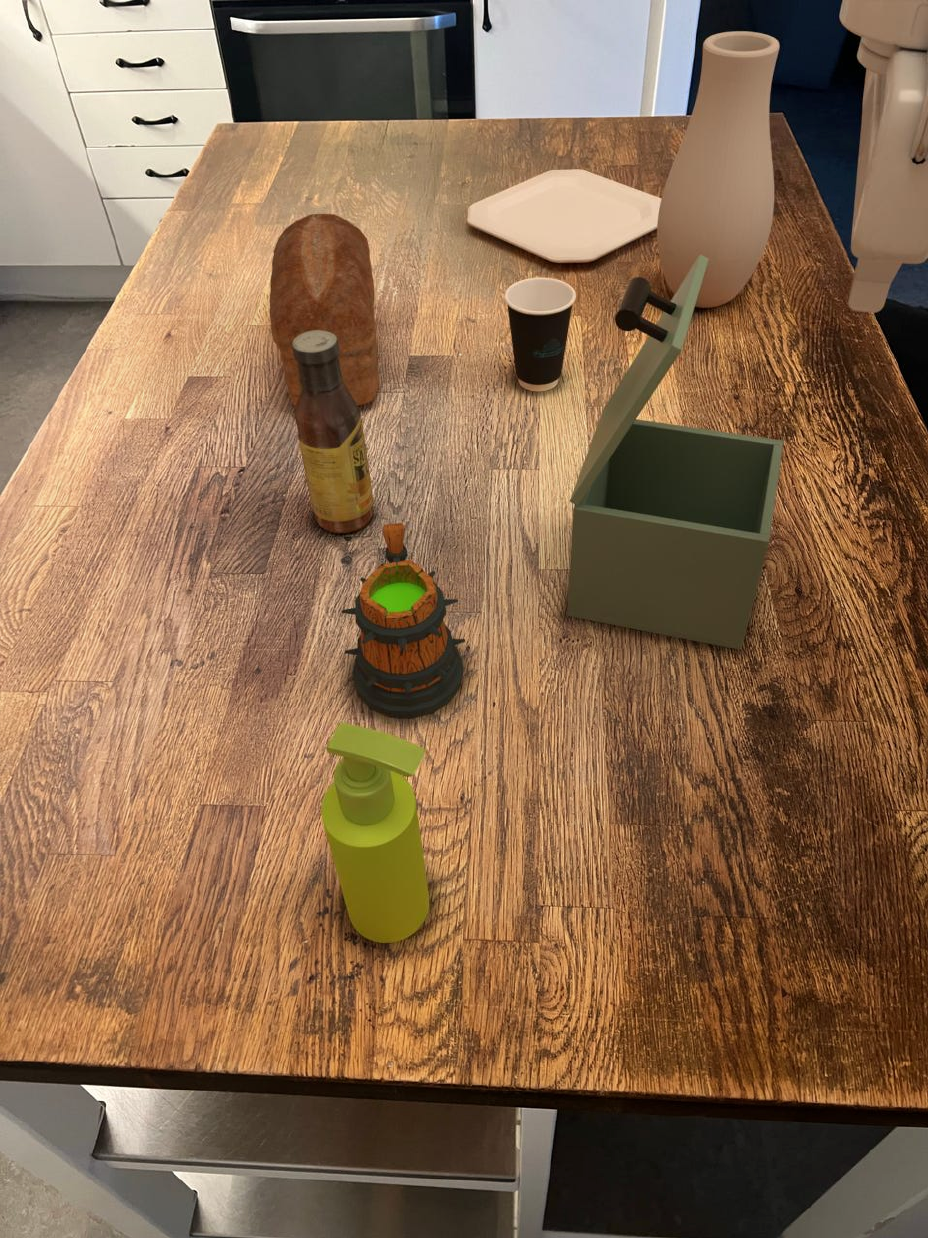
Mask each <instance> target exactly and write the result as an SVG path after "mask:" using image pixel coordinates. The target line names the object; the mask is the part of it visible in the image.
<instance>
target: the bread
mask: <svg viewBox="0 0 928 1238" xmlns="http://www.w3.org/2000/svg"><path fill="white" fill-rule="evenodd" d="M370 255H371V250H370V245H369V241H368V238H367V237H366V236H365V234H364V233H363V232H362V230H361V229H360V228H359V227H357V226H356V225H355V224H353V223H352V222H350V221H349V220H347V219H345V218H343V217H341V216H340V215H339V216H338V215H336V214H335V213H312V214H308V215H306V216H304V217H302V218H300V219H298V220H295V221H293V222H292V223H291V224H290V225H288V226H287V227H285V229H284V230H283V231H282V233H281V234H280V235H279V236H278V238H277V240H276V243H275V246H274V249H273V256H272V261H271V275H270V283H269V284H270V285H269V287H270V289H269V291H270V292H269V320H270V331H271V336H272V340H273V343H274V344H275V346H276V347H277V349H278V351H279V354H280V359H281V364H282V368H283V372H284V379H285V384H286V385H285V386H286V389H287V392H288V396H289V398H290V400H291V403H292V404H293V406H295V405H296V401H297V400H298V398H299V395H300V393H301V391H302V386H301V384H300V379H301V378H300V373H299V368H298V363H297V361H296V360H295V357H294V353H293V347H292V342H293V340H294V339H295V338H296V337H297V336H299V335H301V334H302V333H305V332H308V331H313V330H322V331H327V332H330V333H332V334H334V335H335V336H336V337H337V340H338V345H339V355H338V358H339V363H340V371H341V374H342V380H343V381H344V383H345V385H346V387H347V389H348V390H349V392H350V394H351V396H352V397H353V399H354V400H355V402H356V404H357V405H358V407H359V406H363V405H366V404H368V403H369V404H370V403H371V402H372V401H373V400H374V399H375V397H376V395H377V392H378V390H379V387H380V386H379V385H380V376H379V375H380V373H379V364H378V346H377V332H376V331H377V329H376V319H375V318H376V317H375V282H374V277H373V267H372V263H371V258H370V257H371V256H370Z"/></svg>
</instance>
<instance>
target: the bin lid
mask: <svg viewBox="0 0 928 1238" xmlns="http://www.w3.org/2000/svg"><path fill="white" fill-rule="evenodd" d="M708 260H709V259H708V258H706V257H704V256H702V255H699V257H698V258H697V260H696V262H695V263H694V265H693V266H692V268H691V270H690V271H689V273H688V274H687V276H686V278H685V279H684V281H683V282H682V284H681V286H680V287H679V289H678V290H677V292H676V294H675V295H674V294H673V297H672V298H671V300H669V299H667V298H665V297H663V296H661V295H660V294H658V293H656V292H655V291H653V290H652V285H651V283H650V282H649V280H648V279H647V278H644V277H641V276H636V277H633V278H631V279H630V280H629V281H628V283H627V286H626V288H625V291H624V293H623V295H622V299H621V301H620V304H619V306H618V309H617V311H616V313H615V316H614V322H615V325H616V326H617V328H618V329H619V330H621V331H624V332H632V331H634V330H638V331H640V333H643V334H645V335H647V336H648V337H647V339H646V340H645V342H644V343H643V345H642V347H641V348H640V349H639V351H638V353H637V354H636V356H635V358H634V359H633V361H632V362H631V364H630V365H629V367H628V369H627V370H626V372H625V374H624V375H623V377H622V378H621V380H620V382H619V383H618V385H617V387H616V388H615V390H614V391H613V392H612V394H611V395H610V397H609V399H608V400H607V403H606V404H605V405H604V406H603V410H602V412H601V415H600V418H599V420H598V423H597V426H596V429H595V432H594V434H593V437H592V439H591V442H590V445H589V447H588V450H587V453H586V455H585V458H584V461H583V463H582V466H581V469H580V472H579V474H578V477H577V480H576V482H575V485H574V488H573V491H572V494H571V496H570V499H569V502H570V503H571V504H573V505H577V506H578V505H579V504H580V502H581V501H582V499H583V498H584V496H585V495H586V493H587V492H588V490H589V489H590V487H591V486H592V484H593V483H594V481H595V480H596V478H597V477H598V475H599V474H600V472H601V471H602V469H603V468H604V466H605V465H606V463H607V462H608V460H609V459H610V457H611V456H612V454H613V453H614V451H615V450H616V448H617V447H618V445H619V444H620V442H621V441H622V439H623V438H624V436H625V435H626V433H627V432H628V430H629V429H630V427H631V426H632V424H633V423H634V421H635V420H636V419H637V418H638V417H639V415H640V414H641V413H642V411H643V409H644V408H645V406H646V405H647V403H648V402H649V400H650V399H651V397H652V396H653V394H655V391H656V390H657V388H658V387H659V386H660V384H661V382H662V381H663V380H664V378H665V376H666V375H667V373H668V372H669V371H670V369H671V368H672V366H673V365H674V363H675V361H676V360H677V358H678V357H679V356H680V354H681V352H683V348H684V344H685V341H686V338H687V334H688V331H689V328H690V324H691V321H692V318H693V314H694V311H695V308H696V307H695V304H696V301H697V297H698V294H699V290H700V287H701V284H702V280H703V277H704V274H705V270H706V267H707V263H708ZM647 304H648V305H650V306H652V307H653V308H656V309H658V310H659V311H661V312H663V313H662V314H661V316H660V317H659V319H658V321H657V323H654V322H652V321H650V320H649V319H646V318H644V317H643V313H644V311H645V309H646V306H647Z"/></svg>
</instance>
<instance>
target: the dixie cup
mask: <svg viewBox="0 0 928 1238" xmlns="http://www.w3.org/2000/svg"><path fill="white" fill-rule="evenodd" d="M503 298H504V302H505V303H506V305H507V312H508V313H507V314H508V323H509V329H510V336H511V345H512V354H513V361H514V362H513V363H514V369H515V375H516V378H517V381H518V385H520V386H521V387H522V388H523V389H525V390H527V391H531V392H546V391H549V390H552V389H554V388H555V387H557V385H558V383H559V380H560V378H561V376H562V372H563V366H564V360H565V355H566V354H565V353H566V347H567V341H568V335H569V329H570V323H571V316H572V310H573V304H574V303H575V301H576V299H577V294H576V291H575V289H574V287H572V286H571V285H570V284H569V283H567V282H565V281H563V280H560V279H557V278H553V277H531V278H525V279H521V280H519V281H516V282H514V283H513V284H511V285H510V286H509V287H507V288H506V290H505V291H504V297H503Z"/></svg>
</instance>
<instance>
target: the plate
mask: <svg viewBox="0 0 928 1238" xmlns="http://www.w3.org/2000/svg"><path fill="white" fill-rule="evenodd" d="M661 199H662V197H658V196H656V195H653V194H650V193H648V192H645V191H643V190H639V189H636V188H634V187H632V186H629V185H626V184H623V183H620V182H618V181H615V180H612V179H609V178H607V177H605V176H602V175H598V174H596V173H593V172H590V171H588V170H585V169H577V168H576V169H550V170H547V171H544V172H543V173H540V174H538V175H535V176H533V177H531V178H529V179H526V180H524V181H522V182H520V183H517V184H515V185H513V186H510V187H508V188H506V189H504V190H502V191H499V192H497V193H494V194H492V195H490V196H488V197H485V198H483V199H481V200H478V201H476V202H474V203H472V204H470V205H469V207H468V209H467V218H466V219H467V220H466V222H467V224H468V225H469V226H470V227H473V228H475V229H477V230H479V231H482V232H484V233H486V234H488V235H490V236H493V237H495V238H497V239H500V240H501V241H503V242H507V243H509V244H511V245H513V246H515V247H517V248H519V249H522V250H524V251H526V252H528V253H531V254H533V255H535V256H537V257H540V258H542V259H544V260H547V261H548V262H551V263H557V264H574V263H576V264H577V263H579V264H581V263H582V264H583V263H590V262H594V261H597V260H599V259H600V258H602V257H605V256H606V255H608V254H610V253H612V252H614V251H616V250H618V249H619V248H622V247H624V246H625V245H628V244H629V243H631V242H634V241H636V240H637V239H639V238H641V237H643V236H645V235H647V234H649V233H651V232H653V231H655V230H657V223H658V213H659V208H660V203H661Z"/></svg>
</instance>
